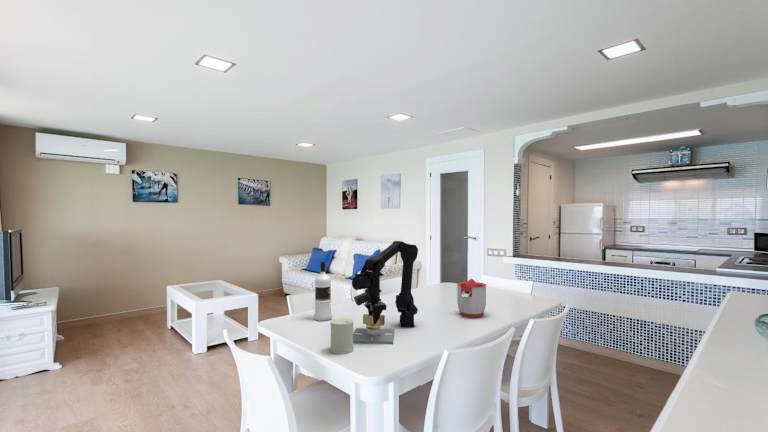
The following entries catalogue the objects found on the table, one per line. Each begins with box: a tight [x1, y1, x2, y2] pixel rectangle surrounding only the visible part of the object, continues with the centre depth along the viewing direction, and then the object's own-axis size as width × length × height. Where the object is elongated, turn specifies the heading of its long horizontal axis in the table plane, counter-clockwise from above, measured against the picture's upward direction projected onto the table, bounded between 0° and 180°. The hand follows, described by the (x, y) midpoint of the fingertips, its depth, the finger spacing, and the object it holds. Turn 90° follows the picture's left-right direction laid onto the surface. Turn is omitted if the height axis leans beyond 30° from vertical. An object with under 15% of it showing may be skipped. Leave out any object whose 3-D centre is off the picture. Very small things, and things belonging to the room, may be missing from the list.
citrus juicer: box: [456, 277, 487, 319], centre depth 198 cm, size 16×17×20 cm
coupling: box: [362, 313, 386, 329], centre depth 163 cm, size 6×9×5 cm
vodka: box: [313, 260, 333, 322], centre depth 192 cm, size 9×9×30 cm
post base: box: [353, 327, 396, 345], centre depth 163 cm, size 18×18×4 cm
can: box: [329, 317, 354, 355], centre depth 147 cm, size 9×9×12 cm
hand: (373, 322), depth 163 cm, fingers closed on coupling, 4 cm apart
